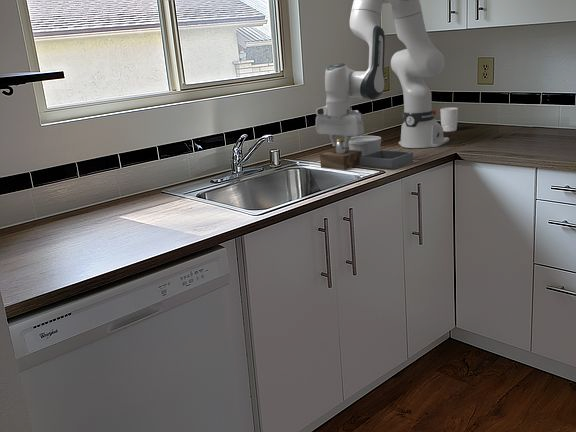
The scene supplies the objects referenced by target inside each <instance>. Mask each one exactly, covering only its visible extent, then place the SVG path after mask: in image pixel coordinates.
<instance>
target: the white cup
mask: <svg viewBox="0 0 576 432" xmlns="http://www.w3.org/2000/svg"><path fill="white" fill-rule="evenodd" d="M439 112H440V113H439V115H440V125H441V126H442V127H443V132H445V133H446V132H449V133H450V132H455V131H457V129H458V127H457V126H458V119H459V117H458V115H459V108H458V107H442V108H440V109H439Z"/></svg>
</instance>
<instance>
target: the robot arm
mask: <svg viewBox="0 0 576 432" xmlns="http://www.w3.org/2000/svg"><path fill="white" fill-rule="evenodd" d="M389 3H390V5H391V10H392V11H391V12H392V17H393V21H394V27H395V32H396V36H397V38H398V40H399V41H401V42H402V43H403V44H404V46H405V48H404V49H401V50H398V51H396V52H395V53H394V54H393V55H392V56H391V59H390V67H391V70H392V72H393V73H395V75H396V76H397V78H398V79H399V82H400V85H401V89H402V92H403V94H402V95H403V113H402V117H403V119H402V120H403V123H402V125H401V129H400V130H401V133H400V140H399V141H398V145H400V147H402V148H406V149H408V148H409V149H421V148H422V149H424V148H437V147H440V146H442V145H444V144H446V143H447V142H449V141H450V137H446V136H444V131H443V127H442V125H441V123H439V122H437V120H436V119H435V116H437V115H438V110H437V109H432V107H433V106H432V104H433V103H432V91H431V89H430V87H428V86H427V84H426V83H425V80H424V78H430V77H434V76H437V75H439V74H441V72H442V71H443V70H444V68H445V63H446V62H445V56H444V55H443V53H442V52H441V51H440V50H438V48H436V46H435V44H433V41H432V40H431V38H430V37H429V34H428V31H427V29H426V25H425V20H424V16H423V11H422V5H421V3H420V0H353V1H352V6H351V10H350V17H349V29H350V30H351V32H352V33H353V35H354V36H355V37H357V38H359V39H361V40H363V41H365V42H366V43H367V45H368V49H369V50H368V67H367V69H366V70H362V71H361V70H360V71H358V70H354V69H351V68H349V67H348V66H347V64H346V63H342V62H341V63H340V62H339V63H333V64H330V65H328V67H326V68H325V72H324V90H325V94H326V99H325V105H324V106H321V107H318V108H316V109H315V115H316V117H315V131H316V133H317V135H328V137H329V139H330V140H331V143H332V144H331V145H332V147H333V148H334V147H335V148H336V141H335V139H336V136H343V137H344V138H343V139H345V142H344V143H342V145H343V147H344V148H345V149H346V148H349V144H348V142H349V140H350V138H352V137H357V136H364V135H363V134H364V133H365V128H364V126H365V125H364V121H363V114H362V113H361V112H360V111H359V110H357V109H356V110H354V109H353V110H352V109H351V98H354V99H367V100H372V101H373V100H377V99H379V98H380V96H381V95H382V94H383V92H384V91H385V88H386V79H385V55H386V54H385V53H386V52H385V51H386V36H385V34H386V33H385V31H384V29H383V27H381V16H382V9H383V4H389Z"/></svg>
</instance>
